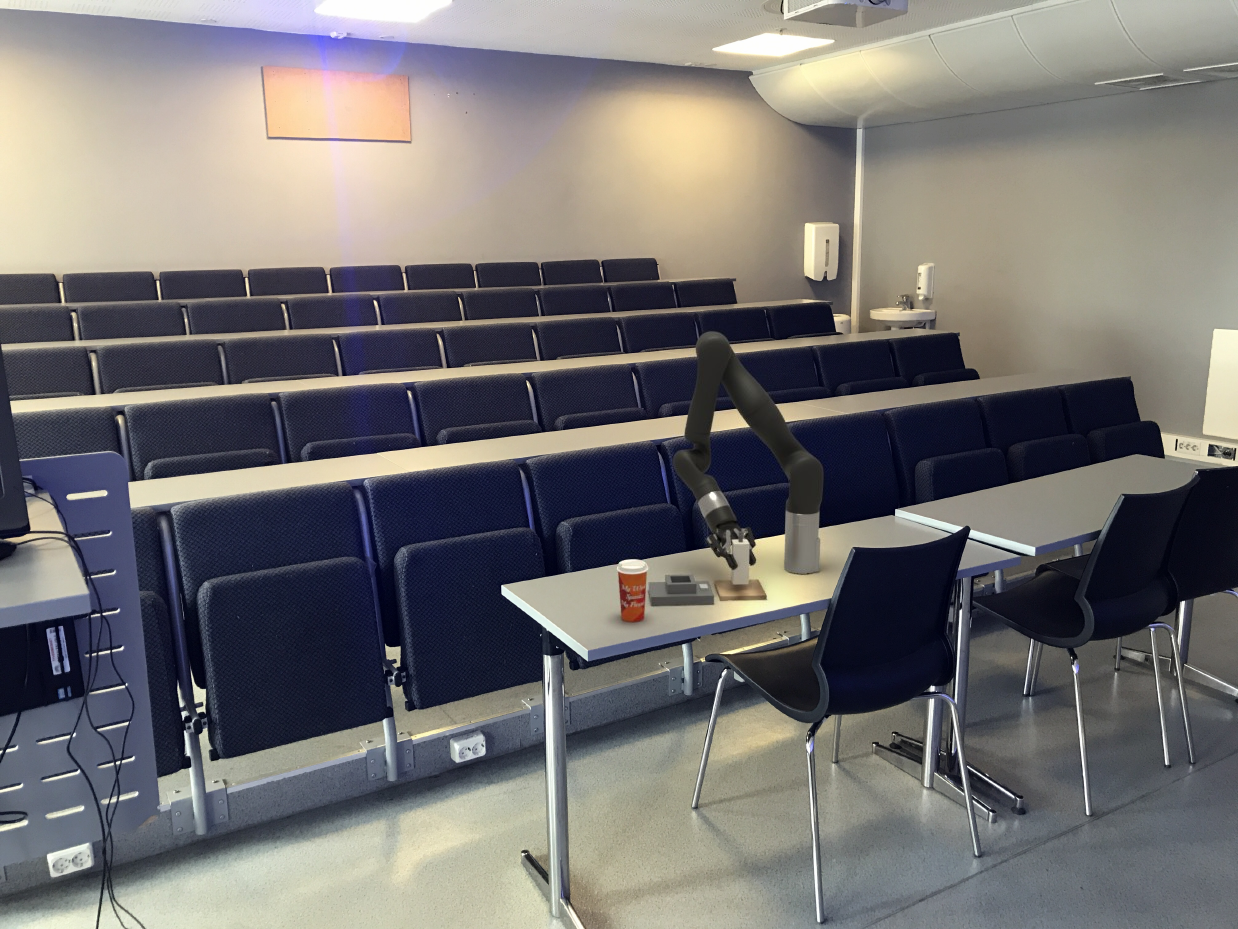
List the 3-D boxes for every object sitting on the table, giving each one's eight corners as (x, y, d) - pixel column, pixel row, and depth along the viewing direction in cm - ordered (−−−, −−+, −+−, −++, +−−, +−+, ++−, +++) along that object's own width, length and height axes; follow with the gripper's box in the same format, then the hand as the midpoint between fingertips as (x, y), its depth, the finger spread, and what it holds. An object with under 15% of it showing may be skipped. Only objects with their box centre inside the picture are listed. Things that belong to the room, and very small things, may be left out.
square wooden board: (758, 583, 252) (758, 579, 252) (766, 599, 240) (766, 595, 240) (714, 584, 252) (714, 580, 251) (720, 600, 240) (720, 596, 240)
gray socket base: (708, 589, 248) (708, 571, 247) (713, 604, 237) (714, 586, 236) (648, 590, 248) (648, 572, 246) (651, 606, 237) (651, 587, 236)
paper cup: (620, 625, 225) (620, 570, 222) (614, 613, 232) (613, 560, 229) (652, 622, 226) (651, 567, 223) (645, 610, 234) (644, 557, 231)
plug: (746, 578, 247) (747, 529, 244) (748, 584, 243) (749, 533, 240) (731, 579, 247) (731, 529, 244) (733, 584, 243) (734, 533, 240)
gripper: (701, 508, 243) (729, 564, 236) (744, 500, 251) (772, 554, 244) (689, 523, 249) (716, 578, 242) (731, 515, 256) (759, 568, 249)
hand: (744, 566), depth 243 cm, fingers closed on plug, 5 cm apart
